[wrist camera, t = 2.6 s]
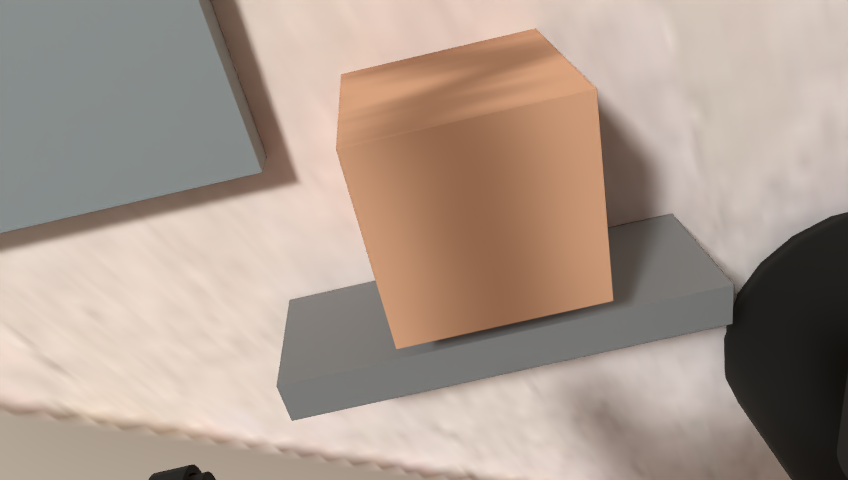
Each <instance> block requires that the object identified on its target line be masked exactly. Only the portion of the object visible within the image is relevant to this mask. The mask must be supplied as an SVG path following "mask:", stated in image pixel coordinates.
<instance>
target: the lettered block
mask: <svg viewBox="0 0 848 480" xmlns="http://www.w3.org/2000/svg"><path fill="white" fill-rule="evenodd" d="M336 151H337V154H338V157H339V161H340V164H341V167H342V171H343V174H344V177H345V181H346V184H347V187H348V191H349V194H350V197H351V201H352V204H353V207H354V211H355V214H356V217H357V221H358V224H359V227H360V230H361V234H362V237H363V240H364V244H365V247H366V250H367V254H368V257H369V260H370V264H371V267H372V270H373V274H374V277H375V280H376V284H377V287H378V290H379V294H380V297H381V300H382V303H383V307H384V310H385V313H386V317H387V320H388V323H389V327H390V330H391V333H392V337H393V340H394V343H395V347H396V349H400V348H404V347H409V346H413V345H418V344H422V343H427V342H431V341H436V340H440V339H445V338H449V337H454V336H458V335H463V334H467V333H472V332H476V331H480V330H485V329H489V328H494V327H498V326H503V325H507V324H512V323H516V322H521V321H525V320H530V319H534V318H539V317H543V316H548V315H552V314H557V313H561V312H566V311H570V310H575V309H579V308H584V307H588V306H593V305H597V304H602V303H606V302H611V301H613V291H612V278H611V265H610V253H609V240H608V227H607V214H606V202H605V189H604V176H603V164H602V151H601V138H600V126H599V113H598V100H597V89H596V88H595V87H594V86H593V85H592V84H591V83H590V82H589V81H588V80H587V79H586V78H585V77H584V76H583V75H582V74H581V73H580V72H579V71H578V70H577V69H576V68H575V67H574V66H573V65H572V64H571V63H570V62H569V61H568V60H567V59H566V58H565V57H564V56H563V55H562V54H561V53H560V52H559V51H558V50H557V49H556V48H555V47H554V46H553V45H552V44H551V43H550V42H549V41H548V40H547V39H546V38H545V37H544V36H543V35H542V34H541V33H539V32H538V31H537V30H536V29H531V30H527V31H523V32H519V33H514V34H510V35H506V36H502V37H497V38H493V39H489V40H485V41H480V42H476V43H472V44H468V45H464V46H459V47H455V48H451V49H447V50H442V51H438V52H434V53H430V54H425V55H421V56H417V57H413V58H408V59H404V60H400V61H396V62H391V63H387V64H383V65H379V66H375V67H370V68H366V69H362V70H358V71H353V72H349V73H345V74H341V85H340V100H339V114H338V128H337V143H336Z"/></svg>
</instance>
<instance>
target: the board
mask: <svg viewBox="0 0 848 480" xmlns="http://www.w3.org/2000/svg"><path fill="white" fill-rule="evenodd" d="M266 158H267V156H266V153H265V151H264V148H263V145H262V142H261V140H260V137H259V134H258V131H257V129H256V126H255V123H254V120H253V118H252V115H251V112H250V109H249V106H248V104H247V101H246V98H245V95H244V93H243V90H242V87H241V84H240V82H239V79H238V76H237V73H236V71H235V68H234V65H233V62H232V60H231V57H230V54H229V51H228V48H227V46H226V43H225V40H224V37H223V35H222V32H221V29H220V26H219V24H218V21H217V18H216V15H215V13H214V10H213V7H212V4H211V1H210V0H0V233H3V232H8V231H12V230H16V229H21V228H25V227H29V226H34V225H38V224H42V223H46V222H51V221H55V220H59V219H64V218H68V217H72V216H77V215H81V214H85V213H90V212H94V211H98V210H102V209H107V208H111V207H115V206H120V205H124V204H128V203H133V202H137V201H141V200H145V199H150V198H154V197H158V196H163V195H167V194H171V193H176V192H180V191H184V190H189V189H193V188H197V187H201V186H206V185H210V184H214V183H219V182H223V181H227V180H232V179H236V178H240V177H244V176H249V175H253V174H257V173H262V171H263V168H264V164H265V161H266Z"/></svg>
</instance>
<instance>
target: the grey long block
mask: <svg viewBox="0 0 848 480" xmlns="http://www.w3.org/2000/svg"><path fill="white" fill-rule="evenodd" d="M608 240H609V253H610V265H611V278H612V291H613V301H611V302H606V303H602V304H597V305H593V306H588V307H584V308H579V309H575V310H570V311H566V312H561V313H557V314H552V315H548V316H543V317H539V318H534V319H530V320H525V321H521V322H516V323H512V324H507V325H503V326H498V327H494V328H489V329H485V330H480V331H476V332H472V333H467V334H463V335H458V336H454V337H449V338H445V339H440V340H436V341H431V342H427V343H422V344H418V345H413V346H409V347H404V348H400V349H396V347H395V343H394V340H393V337H392V333H391V330H390V327H389V323H388V320H387V317H386V313H385V310H384V307H383V303H382V300H381V297H380V294H379V290H378V287H377V284H376V281H372V282H368V283H364V284H359V285H355V286H350V287H346V288H342V289H337V290H333V291H328V292H324V293H319V294H315V295H311V296H306V297H302V298H297V299H293V300H290V301H289V307H288V314H287V321H286V327H285V334H284V341H283V347H282V354H281V361H280V367H279V374H278V380H277V388H278V390H279V393H280V395H281V397H282V400H283V402H284V404H285V406H286V409H287V411H288V413H289V415H290V418H291V420H292V421H293V420H298V419H302V418H307V417H311V416H316V415H320V414H325V413H330V412H334V411H339V410H343V409H348V408H352V407H357V406H361V405H366V404H370V403H375V402H380V401H384V400H389V399H393V398H398V397H402V396H407V395H411V394H416V393H420V392H425V391H430V390H434V389H439V388H443V387H448V386H452V385H457V384H461V383H466V382H470V381H475V380H479V379H484V378H489V377H493V376H498V375H502V374H507V373H511V372H516V371H520V370H525V369H529V368H534V367H539V366H543V365H548V364H552V363H557V362H561V361H566V360H570V359H575V358H579V357H584V356H589V355H593V354H598V353H602V352H607V351H611V350H616V349H620V348H625V347H629V346H634V345H639V344H643V343H648V342H652V341H657V340H661V339H666V338H670V337H675V336H679V335H684V334H688V333H693V332H698V331H702V330H707V329H711V328H716V327H720V326H725V325H729V324H732V321H733V294H734V284H733V283H732V282H731V281H730V280H729V279H728V277H727V276H726V275H725V274H724V273H723V272H722V271H721V269H720V268H719V267H718V266H717V265H716V264H715V263H714V261H713V260H712V259H711V258H710V257H709V256H708V254H707V253H706V252H705V251H704V250H703V249H702V248H701V246H700V245H699V244H698V243H697V242H696V241H695V240H694V238H693V237H692V236H691V235H690V234H689V233H688V232H687V230H686V229H685V228H684V227H683V226H682V225H681V224H680V222H679V221H678V220H677V219H676V218H675V217H674V215H673V214H669V215H665V216H660V217H656V218H651V219H647V220H643V221H638V222H634V223H629V224H625V225H620V226H616V227H612V228H608Z"/></svg>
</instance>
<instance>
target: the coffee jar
mask: <svg viewBox="0 0 848 480" xmlns="http://www.w3.org/2000/svg"><path fill="white" fill-rule="evenodd" d="M726 328H727V332H726V335H725V337H724V356H725V376H726V380H727V381H728V383H729V385H730V387H731V389H732V391H733V393H734V395H735V397H736V399H737V401H738V403H739V404H740V406H741V407H742V409H743V410H744V412H745V413H746V414H747V416H748V417H749V419H750V420H751V422H752V423H753V425H754V426H755V427H756V429H757V430H758V432H759V433H760V435H761V436H762V438H763V439H764V440H765V442H766V443H767V445H768V446H769V448H770V449H771V451H772V452H773V453H774V455H775V456H776V458H777V459H778V461H779V462H780V464H781V465H782V466H783V468H784V469H785V471H786V472H787V474H788V475H789V477H790V478H791V479H792V480H848V478H847V477H846V475H845V474H844V472H843V471H842V469H841V467H840V464H839V461H838V457H837V445H838V438H839V430H840V423H841V416H842V409H843V402H844V395H845V388H846V381H847V373H848V212H847V213H843V214H839V215H835V216H831V217H829V218H827V219H825V220H823V221H821V222H819V223H817V224H815V225H814V226H812V227H810V228H808V229H806V230H804V231H802V232H800V233H798V234H796V235H794V236H792V237H791V238H790V239H789V240H788V241H786V242H785V243H784V244H783V245H782V246H780V247H779V248H778V249H777V250H776V251H774V252H773V253H772V254H771V255H770V256H768V257H767V258H766V259H765V260H764V261H763V262H761V263H760V264H759V266H758V267H757V269H756V270H755V271H754V273H753V274H752V275H751V277H750V278H749V279H748V281H747V282H746V283H745V285H744V286H743V287H742V289H741V290H740V292H739V293H738V295H737V297H736V300H735V303H734V306H733V321H732V324H729V325H726Z"/></svg>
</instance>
